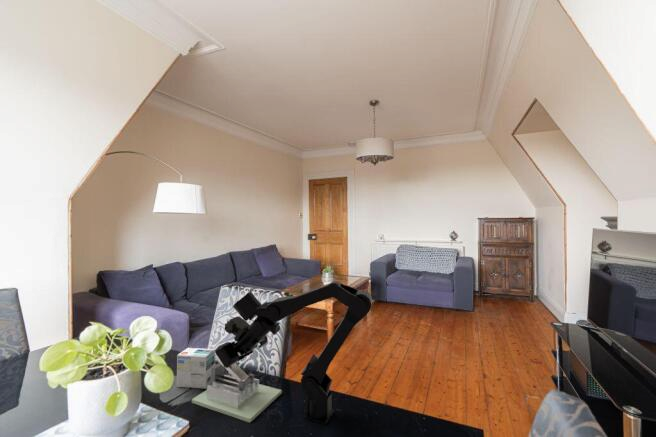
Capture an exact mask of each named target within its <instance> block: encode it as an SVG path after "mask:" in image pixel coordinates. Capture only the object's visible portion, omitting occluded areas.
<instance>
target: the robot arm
mask: <svg viewBox="0 0 656 437" xmlns="http://www.w3.org/2000/svg"><path fill="white" fill-rule="evenodd" d="M331 298H333V299H335V300H337V301H338V302H340V303H341V304H342V305H344V306H346V307H347V309H346V311H345V314H344V316H343V318H342V320H341V321H340V323H339V324H338V326H337V328H336V329H335V331H334V332H333V334H332V335H331V337H330V338H329V340H328V341H327V343H326V345H325V346H324V348H323V349H322V351H321V353H319V355H317V356H316V355H315V354H314V353H313V354H312V355H311V357H310V359H309V361H308V362H307V363H306V365H305V367H303V369H302V372H301V374H300V375H301V378H300V384H301V387H302V389H304V391H305V394H306V398H305V402H306V403H305V405H306V406H305V415H304V419H305V420H310V421H312V422H317V423H319V424H323V425H327V423H328V420H330V418H331V416H332V415H333V414H334V412H335V410H334V409H333V408H332V407H333V406H332V403H333V402H332V401H333V400H332V399H333V398H332V396H333V395H332V394H333V393H332V392H330V388H331V386H332V383H333V379H332V378H331V377H330V376H329V375H328V373H327V372H328V369H329V366H330V365H331V362H333V360H334V358H336V355H337V354H338V352H339V350H340V349H341V347H342V346H343V344H344V343H345V341H346V340H347V338H348V336H349V335H350V333H351V332H352V331H353V328H354V327H355V326H356V325H357V324H358V323H359V322H361V321H362V320H363V319H364V318H365V316H367V315H368V313H369V312H370V311H371V308H372V305H373V297H372V295H371V293H370V292H369V291H367V290H366V289H357V288H355V287H352V286H349V285H346V284H343V283H342V282H340V281H338V280H332V281H331V282H329V283H327V284H324V285H322V286H319V287H315V288H313V289H310V290H307V291H305V292H302V293H299V294H296V295H287V296H281V297H277V298H275V299H273V301H266V302H263V303H261V302H260V301H259V299H257V297H256V296H255V295H254V293H253V292H252V291H249V292H247V293H246V294H245V295H244V296H243V297H241V298H240V299H239V300H237V301H236V302H235V303H234V304H233V305H232V307H233V309H234V310H235V311H236V312H237V313H238V314H239V316H235V317H232V318H230V319H229V320H227V322H226V323H224V331H225V332H226V333H228V334H229V335H230V334H232V335H234V337H233V339H234V341H232V342H230V341H226V342H224V343H221V344H219V345H218V346H217V348H215V355H216V354H217V356H218V358H219V359H220V361H221V362H222V364H223V365H224V367H226V368H228V367H230V366H231V365H233V364H234V363H236V364H237V362H240V361H241V360H243V359H245V357H247V356H249V355H251V354H253V353H254V350H255V349H256V348H262V347H264V346H266V344H267V343H268V339H269V338H268V337H267V335H268V334H269V333H271V334H272V335H274V336H275V335H276V334H277V333H279V331H280V330H281V327H280V326H281V325H280V321H281V320H283V319H284V318H287V317H288V316H290V315H291V314H293V313H295V312H296V311H297V310H301V309H303V308H306V307H309V306H312V305H314V304H315V305H316V304H317V303H320V302H323V301H326V300H328V299H331ZM254 318H255V319H254ZM253 319H254V320H253ZM248 320H249V322H251V321H252V320H253V321H252V322H251V323H250V324H249V323H248Z"/></svg>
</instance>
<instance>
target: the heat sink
mask: <svg viewBox="0 0 656 437" xmlns="http://www.w3.org/2000/svg"><path fill="white" fill-rule="evenodd" d="M227 372H228V371H227ZM248 376H249V377H251V379H252V382H251V383H250V384H248V385H247V386H245V387H244V381H241V380H240V381H239V382H238V381H237V380H236V379H235V378H234V377H233V376H232V375H231V374H230V373H229V372H228V374H225V368H224V367H223V366H222V365H221V364H220V362H218V363H217V364H216V363H215V365H214V366H213V367H211V384H210V385H208V386H207V388H206V390H207V399H208V400H211V401H214V402H217V403H220V404H223V405H226V406H229V407H232V408H235V409H239V408H240V407H241V406H242V405H244V404H245V403H246V402H247V401H249V400H250V399H251V398H252V397H253V396H255V395H256V394H257V393H258V392H259V384H260V379H258V378H255V374H254V373H249V374H248Z"/></svg>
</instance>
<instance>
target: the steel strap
mask: <svg viewBox="0 0 656 437" xmlns="http://www.w3.org/2000/svg"><path fill="white" fill-rule="evenodd" d="M215 360H216V361H217V362H218V363H220V364H221V365H222V366H223V367H224V365H223V364H222V362H221V361H220V359H219V358H218V356H217V354H216V353H215ZM224 370H226V371H227V372H229V373H230V374H231V375H232V376H233V377H234V378H235V379H236V380H237V381H238V382H239V381H240V380H241V381H244V387H245V386H247V385H248V384H250V383H251V382H252V379H251V377H249V374H247V373H246V372H245V371H244V370H243V369H242V368H241V367H240V366H239V365H238V364H237V362H236V363H234V364H233V365H231V366H230V367H228V368H226V367H224Z"/></svg>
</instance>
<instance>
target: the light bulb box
mask: <svg viewBox="0 0 656 437" xmlns="http://www.w3.org/2000/svg"><path fill="white" fill-rule="evenodd" d="M215 350H216V348H199V347H198V348H196V347H187V348H185V349H184V350H182V351H181V352H179V353H178V354H177V355H176V387H178V388H190V387H191V388H193V389H205V390H207V386H208V385H211V367H213V366H214V365H216V358H215V355H216V353H215Z"/></svg>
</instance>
